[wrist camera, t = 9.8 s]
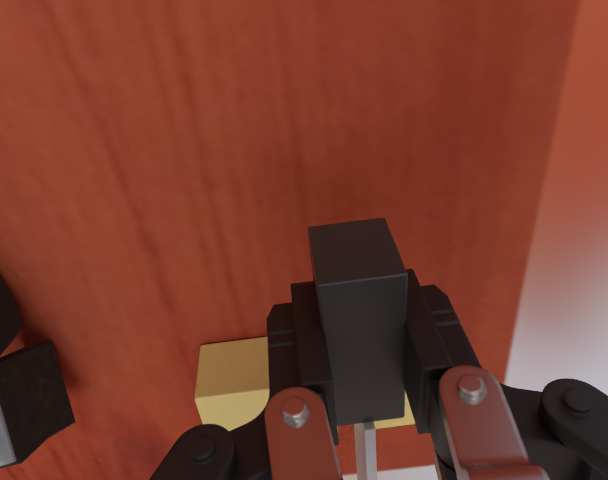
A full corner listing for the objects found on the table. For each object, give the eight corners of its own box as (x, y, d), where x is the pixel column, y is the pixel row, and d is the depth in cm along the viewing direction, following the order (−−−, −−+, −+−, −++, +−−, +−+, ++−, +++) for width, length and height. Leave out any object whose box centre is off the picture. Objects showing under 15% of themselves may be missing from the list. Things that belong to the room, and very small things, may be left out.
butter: (324, 328, 23) (333, 380, 21) (330, 380, 25) (338, 434, 23) (199, 344, 23) (193, 399, 21) (215, 395, 25) (210, 451, 23)
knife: (307, 226, 13) (318, 291, 11) (385, 216, 13) (410, 279, 11) (338, 514, 21) (348, 585, 19) (387, 507, 21) (403, 577, 19)
